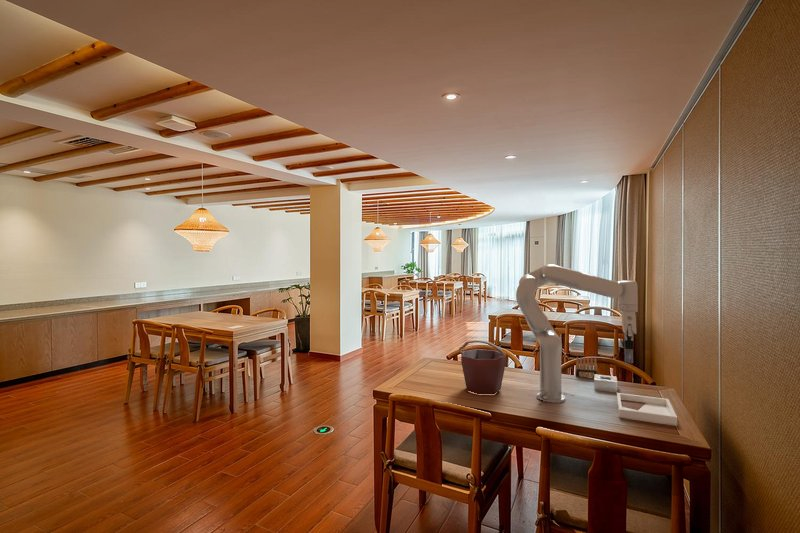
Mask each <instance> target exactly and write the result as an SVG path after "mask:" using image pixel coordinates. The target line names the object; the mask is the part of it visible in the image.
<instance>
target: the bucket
mask: <svg viewBox="0 0 800 533" xmlns="http://www.w3.org/2000/svg"><path fill="white" fill-rule="evenodd" d="M472 343H479V344H486V345H489V346H490V347H492V348H494V349H495V350H493V349H485V348H484V349H482V348H474V349H468V350H463V349H465V348H466V347H467V346H468V345H469V344H472ZM462 350H463V351H462ZM458 351H459V352H458V353H460V354H461V358H460V359H461V362H460V363H461V366H462V374H463V376H464V384H465V388H466V391H467V390H468V391H471V392H474V393H477V394H495V393H496V392H498V391H499V390H500V391H501V389H502V384H503V379H504V373H505V369H506V362H507V354H506V353H505V351H504V350H503V349H502V348H501V347H499V346H498V345H496V344H494V343H493V342H491V341H485V340H470V341H466V342H465V343H464V344H463V345H462V346H460V347H459V348H458Z"/></svg>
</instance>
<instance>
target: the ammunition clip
mask: <svg viewBox="0 0 800 533" xmlns="http://www.w3.org/2000/svg"><path fill="white" fill-rule="evenodd" d="M575 362H576V363H575V377H576V378H587V379H589V378H590V379H594V374H597V375H598V364H597V363H598V362H597V358H596V357H594V359H593V357H591V358H589V357H587V359H586V357H585V356H584V357H582V356H580V358H579V357H578V356H576V360H575Z"/></svg>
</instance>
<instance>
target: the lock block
mask: <svg viewBox="0 0 800 533" xmlns="http://www.w3.org/2000/svg"><path fill="white" fill-rule="evenodd" d="M593 374H594V373H593ZM593 379H594V380H593V381H594V384H593V385H594V387H593V388H594V389H593V390H594V391H600V392H601V391H602V392H608V393H609V392H610V393H616V394H617V393H618V378H617V376H613V375H605V374H598V373H597V374H594V378H593Z"/></svg>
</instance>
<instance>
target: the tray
mask: <svg viewBox="0 0 800 533" xmlns="http://www.w3.org/2000/svg"><path fill="white" fill-rule="evenodd" d="M622 400H623V401H629V402H630V401H631V402H637V403H644V404H643V405H641V407H639V408H638V409H635V408H632V407H628V406H627V407H626V406H623V405H622ZM616 401H617V412H618V418H620V419H625V420H632V421H633V420H634V421H640V422H646V423H647V422H648V423H655V424H658V425H659V424H660V425H665V426H666V425H667V426H668V425H669V426H675V427H678V416H677V414H676V412H675V410H674V407H673V405H672V403H671V401H670V400H669V398H663V397H654V396H647V395H641V394H640V395H639V394H638V395H637V394H632V393H621V392H617V393H616Z"/></svg>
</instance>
